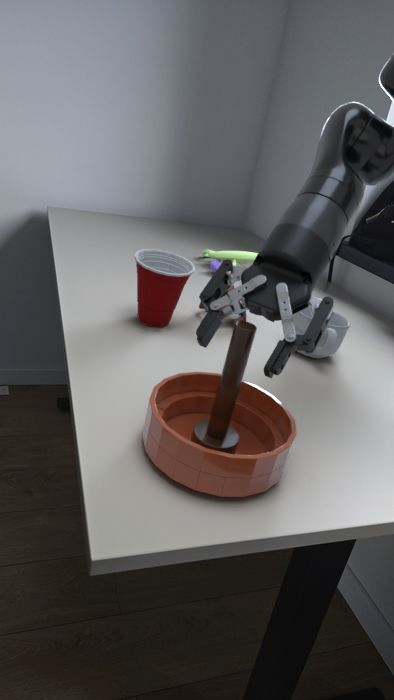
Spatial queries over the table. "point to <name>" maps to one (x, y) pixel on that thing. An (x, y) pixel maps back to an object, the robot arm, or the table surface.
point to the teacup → (330, 336)
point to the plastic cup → (160, 284)
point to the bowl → (210, 465)
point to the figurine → (229, 257)
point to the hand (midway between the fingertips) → (233, 358)
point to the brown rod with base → (227, 394)
